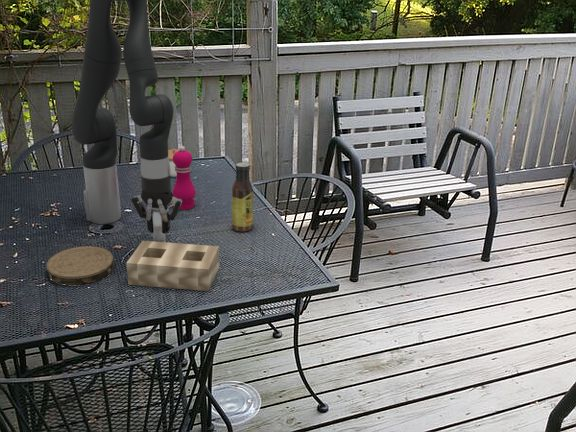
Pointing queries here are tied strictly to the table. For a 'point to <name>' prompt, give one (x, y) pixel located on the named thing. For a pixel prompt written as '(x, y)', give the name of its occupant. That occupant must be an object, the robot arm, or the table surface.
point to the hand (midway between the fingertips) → (159, 231)
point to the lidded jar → (172, 165)
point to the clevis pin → (157, 225)
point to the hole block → (173, 265)
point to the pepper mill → (183, 179)
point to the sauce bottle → (242, 199)
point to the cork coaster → (80, 265)
